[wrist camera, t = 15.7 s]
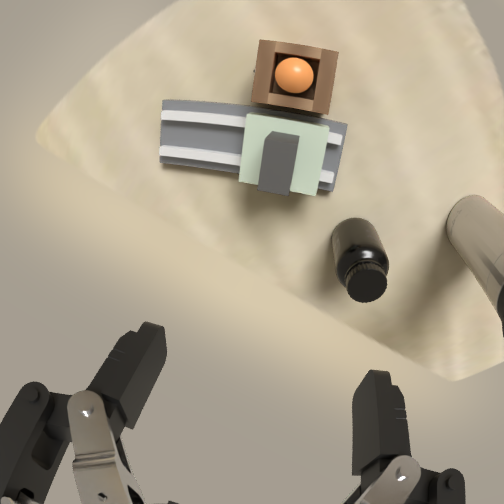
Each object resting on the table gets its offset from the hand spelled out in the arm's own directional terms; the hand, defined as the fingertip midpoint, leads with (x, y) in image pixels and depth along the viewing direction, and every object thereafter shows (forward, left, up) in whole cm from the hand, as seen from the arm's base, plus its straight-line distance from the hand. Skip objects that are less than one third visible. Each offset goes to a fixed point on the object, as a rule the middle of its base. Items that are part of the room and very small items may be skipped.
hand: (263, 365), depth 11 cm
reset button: (+2, -11, -28) cm, 30 cm away
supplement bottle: (-10, +9, -32) cm, 35 cm away
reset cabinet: (+2, -11, -32) cm, 34 cm away
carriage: (+2, -2, -29) cm, 29 cm away
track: (+7, -2, -32) cm, 33 cm away
